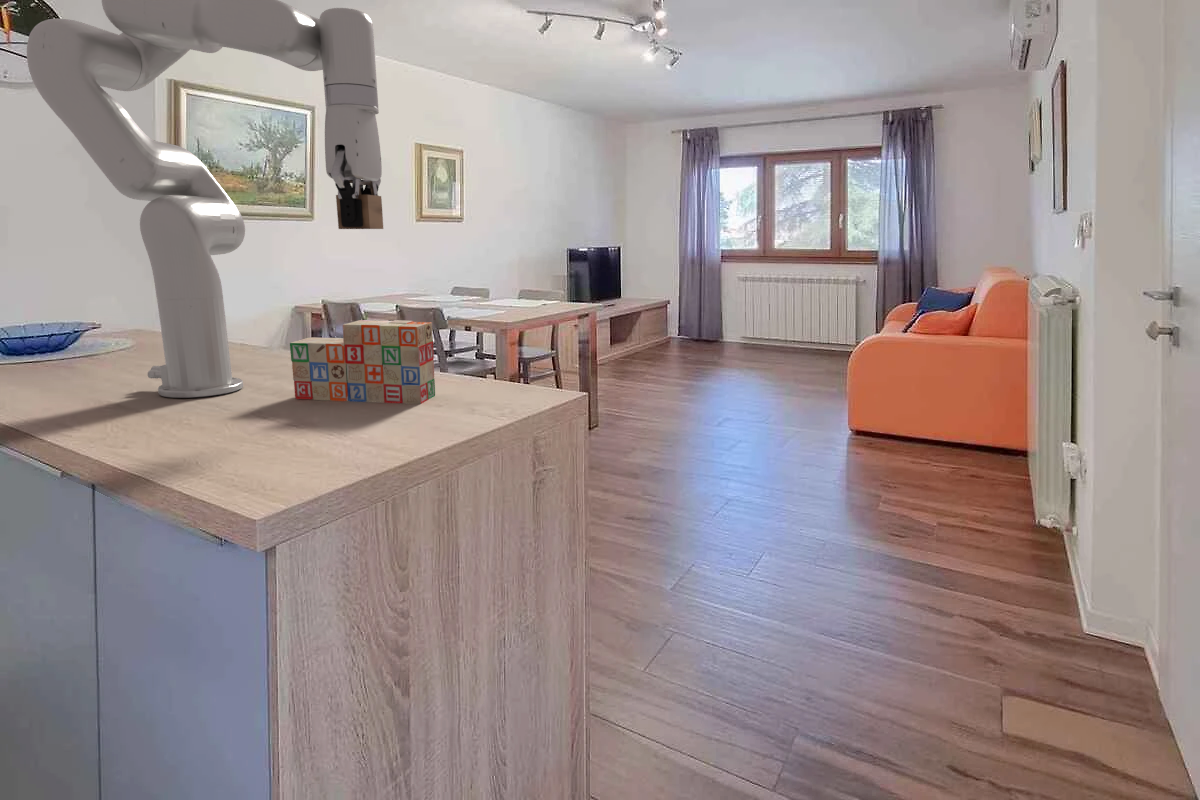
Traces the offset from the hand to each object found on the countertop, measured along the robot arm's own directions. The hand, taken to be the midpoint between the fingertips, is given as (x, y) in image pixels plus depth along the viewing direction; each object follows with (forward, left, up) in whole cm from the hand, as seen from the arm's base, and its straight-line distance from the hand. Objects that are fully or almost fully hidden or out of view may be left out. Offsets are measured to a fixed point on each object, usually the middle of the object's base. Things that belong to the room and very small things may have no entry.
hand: (360, 225), depth 116 cm
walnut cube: (0, 0, -1) cm, 1 cm away
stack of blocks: (-1, -2, -27) cm, 27 cm away
